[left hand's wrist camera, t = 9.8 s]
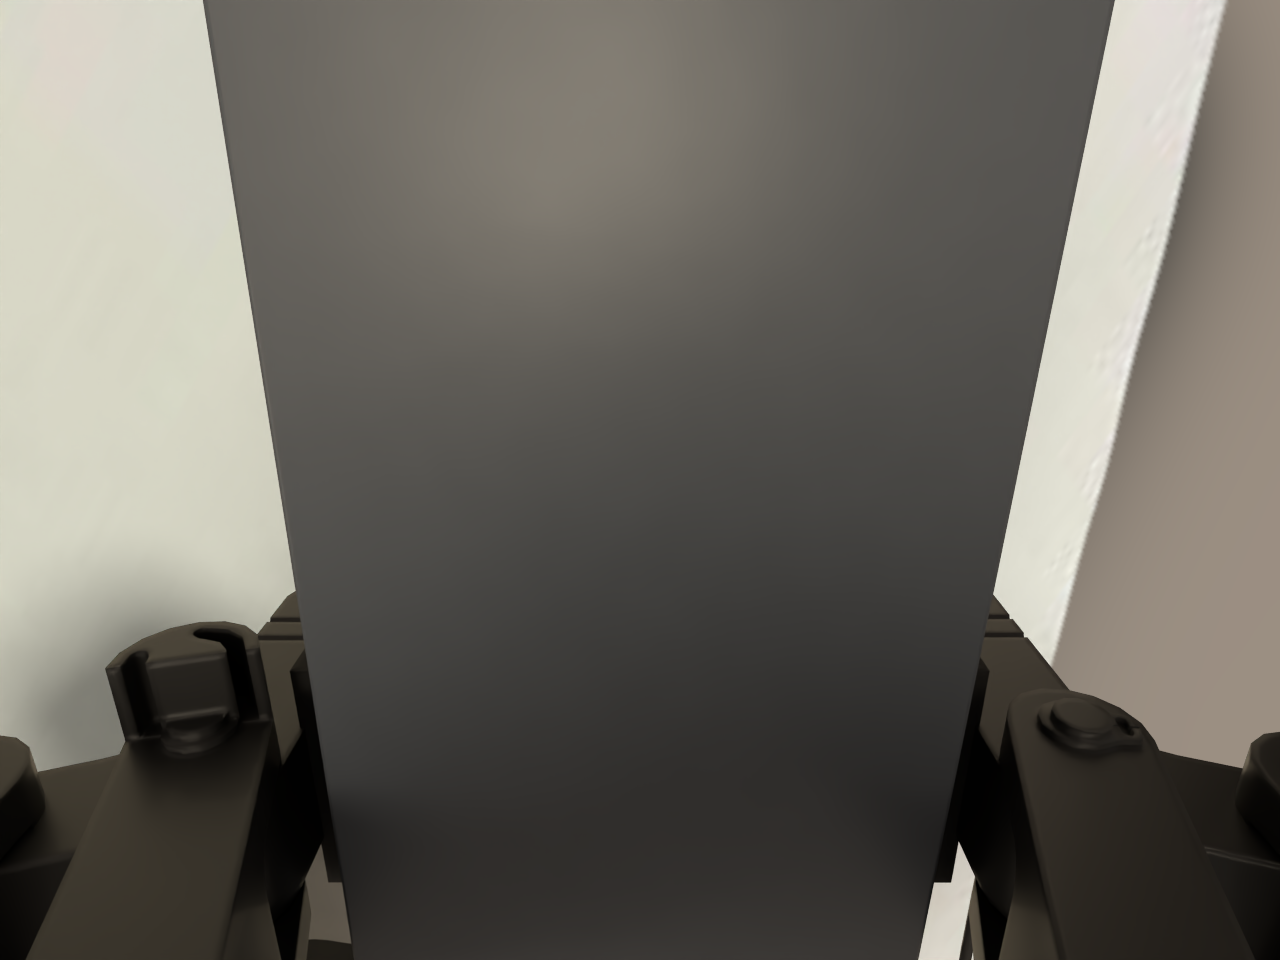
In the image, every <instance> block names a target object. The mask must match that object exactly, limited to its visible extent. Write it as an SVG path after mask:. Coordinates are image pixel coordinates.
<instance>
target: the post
mask: <svg viewBox="0 0 1280 960" xmlns="http://www.w3.org/2000/svg"><path fill="white" fill-rule="evenodd" d="M1114 1H1115V0H203V4H204V10H205V16H206V23H207V29H208V35H209V42H210V48H211V55H212V61H213V67H214V74H215V80H216V86H217V93H218V99H219V105H220V112H221V118H222V124H223V131H224V137H225V144H226V150H227V156H228V163H229V169H230V175H231V182H232V188H233V194H234V201H235V207H236V213H237V220H238V226H239V232H240V239H241V245H242V252H243V258H244V264H245V271H246V277H247V283H248V290H249V296H250V302H251V309H252V315H253V321H254V328H255V334H256V341H257V347H258V353H259V360H260V366H261V372H262V379H263V385H264V391H265V398H266V404H267V410H268V417H269V423H270V429H271V436H272V442H273V449H274V455H275V461H276V468H277V474H278V480H279V487H280V493H281V499H282V506H283V512H284V518H285V525H286V531H287V538H288V544H289V550H290V557H291V563H292V569H293V576H294V582H295V588H296V595H297V601H298V607H299V614H300V620H301V626H302V633H303V639H304V646H305V652H306V658H307V665H308V671H309V677H310V684H311V690H312V696H313V703H314V709H315V715H316V722H317V728H318V735H319V741H320V747H321V754H322V760H323V766H324V773H325V779H326V785H327V792H328V798H329V804H330V811H331V817H332V823H333V830H334V836H335V843H336V849H337V855H338V862H339V868H340V874H341V881H342V887H343V893H344V900H345V906H346V912H347V919H348V925H349V932H350V938H351V944H352V951H353V957H354V960H918V958H919V953H920V948H921V943H922V938H923V933H924V929H925V924H926V919H927V914H928V909H929V904H930V899H931V894H932V890H933V885H934V880H935V875H936V870H937V865H938V860H939V855H940V850H941V846H942V841H943V836H944V831H945V826H946V821H947V816H948V811H949V807H950V802H951V797H952V792H953V787H954V782H955V777H956V772H957V768H958V763H959V758H960V753H961V748H962V743H963V738H964V733H965V729H966V724H967V719H968V714H969V709H970V704H971V699H972V694H973V689H974V685H975V680H976V675H977V670H978V665H979V660H980V655H981V650H982V646H983V641H984V636H985V631H986V626H987V621H988V616H989V611H990V607H991V602H992V597H993V592H994V587H995V582H996V577H997V572H998V567H999V563H1000V558H1001V553H1002V548H1003V543H1004V538H1005V533H1006V528H1007V524H1008V519H1009V514H1010V509H1011V504H1012V499H1013V494H1014V489H1015V485H1016V480H1017V475H1018V470H1019V465H1020V460H1021V455H1022V450H1023V446H1024V441H1025V436H1026V431H1027V426H1028V421H1029V416H1030V411H1031V406H1032V402H1033V397H1034V392H1035V387H1036V382H1037V377H1038V372H1039V367H1040V363H1041V358H1042V353H1043V348H1044V343H1045V338H1046V333H1047V328H1048V324H1049V319H1050V314H1051V309H1052V304H1053V299H1054V294H1055V289H1056V284H1057V280H1058V275H1059V270H1060V265H1061V260H1062V255H1063V250H1064V245H1065V241H1066V236H1067V231H1068V226H1069V221H1070V216H1071V211H1072V206H1073V202H1074V197H1075V192H1076V187H1077V182H1078V177H1079V172H1080V167H1081V163H1082V158H1083V153H1084V148H1085V143H1086V138H1087V133H1088V128H1089V123H1090V119H1091V114H1092V109H1093V104H1094V99H1095V94H1096V89H1097V84H1098V80H1099V75H1100V70H1101V65H1102V60H1103V55H1104V50H1105V45H1106V41H1107V36H1108V31H1109V26H1110V21H1111V16H1112V11H1113V6H1114Z"/></svg>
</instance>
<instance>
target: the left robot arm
mask: <svg viewBox="0 0 1280 960" xmlns="http://www.w3.org/2000/svg"><path fill="white" fill-rule="evenodd" d="M270 619H271V620H270V622H267V623H266V624H265V625H264V627H263V628H262V629H261V630H260V632H259V633H258V634H256V633H255V632H253V631H252V630H250V629H249V628H248V627H246V626H245V625H240V624H235V623H230V622H225V621H223V622H198V623H193V624H189V625H184V626H179V627H174V628H170V629H167V630H165V631H162V632H159V633H157V634H154V635H152V636H149V637H146V638H144V639H142V640H140V641H138V642H137V643H135V644H133V645H132V646H130V647H129V648H127V649H125V650H124V651H122V652H120V653H119V654H118V655H117V656H116V657H115V659H114V660H113V661H112V662H111V663H110V664H109V665H108V666H107V667H106V668H105V669H106V673H107V676H108V680H109V684H110V687H111V691H112V694H113V698H114V702H115V705H116V709H117V712H118V716H119V719H120V723H121V727H122V730H123V734H124V737H125V741H126V742H125V744H124V746H123V748H122V750H121V752H120V754H119V755H115V756H112V757H108V758H104V759H100V760H95V761H90V762H85V763H80V764H75V765H70V766H65V767H60V768H55V769H50V770H46V771H41V772H37V769H36V766H35V763H34V760H33V757H32V754H31V751H30V748H29V747H28V746H27V745H26V744H24V743H23V742H22V741H20V740H19V739H17V738H14V737H6V736H0V960H354V957H353V951H352V944H351V938H350V932H349V925H348V919H347V912H346V906H345V900H344V893H343V887H342V881H341V874H340V868H339V862H338V855H337V849H336V843H335V836H334V830H333V823H332V817H331V811H330V804H329V798H328V792H327V785H326V779H325V773H324V766H323V760H322V754H321V747H320V741H319V735H318V728H317V722H316V715H315V709H314V703H313V696H312V690H311V684H310V677H309V671H308V665H307V658H306V652H305V646H304V639H303V633H302V626H301V620H300V614H299V607H298V601H297V595H296V591H295V592H293V593H292V594H290V595H289V596H287V598H286V599H285V600H284V601H283V603H282V604H281V605H280V606H279V608H278V609H277V610H276V611H275V613H274V614H273V615H272V617H271V618H270ZM958 842H959V843H960V845H961V847H962V849H963V851H964V853H965V856H966V858H967V860H968V862H969V864H970V866H971V869H972V871H973V873H974V875H975V879H974V885H973V890H972V895H971V900H970V905H969V910H968V915H967V920H966V925H965V930H964V936H963V941H962V946H961V952H960V958H959V960H971V958H972V953H973V956H974V960H1280V732H1275V733H1268V734H1263V735H1262V736H1260V737H1259V738H1258V739H1256V740H1255V741H1254V742H1252V743H1251V745H1250V748H1249V751H1248V754H1247V757H1246V760H1245V763H1244V766H1243V768H1238V767H1233V766H1228V765H1223V764H1218V763H1213V762H1208V761H1203V760H1198V759H1193V758H1188V757H1183V756H1178V755H1174V754H1170V753H1167V752H1163V751H1159V749H1158V747H1157V744H1156V742H1155V740H1154V739H1153V738H1152V736H1151V735H1150V734H1149V732H1148V731H1147V730H1146V728H1145V727H1144V726H1143V725H1142V723H1140V722H1139V721H1138V720H1136V719H1135V718H1133V717H1132V716H1131V715H1129V714H1128V713H1126V712H1125V711H1124V710H1122V709H1121V708H1119V707H1117V706H1115V705H1112V704H1110V703H1108V702H1106V701H1103V700H1101V699H1099V698H1097V697H1094V696H1090V695H1087V694H1082V693H1078V692H1074V691H1070V690H1069V689H1068V688H1067V687H1066V685H1065V684H1064V683H1063V682H1062V680H1061V679H1060V678H1059V676H1058V675H1057V674H1056V673H1055V671H1054V670H1053V669H1052V668H1051V666H1050V665H1049V664H1048V663H1047V661H1046V660H1045V659H1044V658H1043V656H1042V655H1041V654H1040V653H1039V651H1038V650H1037V649H1036V648H1035V646H1034V645H1033V644H1032V643H1031V641H1030V640H1029V639H1028V638H1027V637H1024V633H1023V631H1022V630H1021V629H1020V628H1019V626H1018V625H1017V624H1016V623H1015V621H1014V620H1013V619H1010V618H1009V614H1008V613H1007V611H1006V610H1005V609H1004V608H1003V606H1002V605H1001V604H1000V602H999V601H998V600H997V599H996V597H995V596H994V595H993V597H992V602H991V607H990V611H989V616H988V621H987V626H986V631H985V636H984V641H983V646H982V650H981V655H980V660H979V665H978V670H977V675H976V680H975V685H974V689H973V694H972V699H971V704H970V709H969V714H968V719H967V724H966V729H965V733H964V738H963V743H962V748H961V753H960V758H959V763H958V768H957V772H956V777H955V782H954V787H953V792H952V797H951V802H950V807H949V811H948V816H947V821H946V826H945V831H944V836H943V841H942V846H941V850H940V855H939V860H938V865H937V870H936V875H935V880H934V882H937V883H951V880H952V875H953V869H954V864H955V858H956V853H957V847H958Z"/></svg>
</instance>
